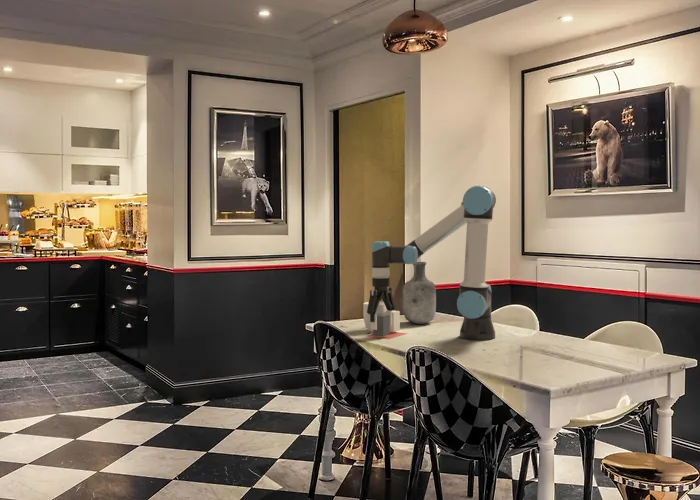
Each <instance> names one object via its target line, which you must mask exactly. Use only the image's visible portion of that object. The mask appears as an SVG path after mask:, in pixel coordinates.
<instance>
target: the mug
mask: <svg viewBox="0 0 700 500" xmlns="http://www.w3.org/2000/svg"><path fill="white" fill-rule="evenodd" d="M368 304H369V301H366V302H363V305H362V306H363V307H362V308H363V313H362V315H363V322H364V326H365V328H366V330H367V331H368V332H370V333H373V330H372V329H371V325H370V314H368V313H367V309H368ZM386 310H387V309H386V306H385V304H384V302H383V301H380V302H379V305H378V308H377V311H376V313H375V314H384V312H385V311H386ZM373 312H374V311H373Z"/></svg>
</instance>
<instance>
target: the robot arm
mask: <svg viewBox="0 0 700 500" xmlns="http://www.w3.org/2000/svg"><path fill="white" fill-rule="evenodd" d="M496 201H497V198H496V195H495V193H494V191H493V190H492V189H491V188H489V187H487V186H484V185H480V184H479V185H473V186H472V187H470V188H469V189H467V190H466V191H465V193H464V194H463V197H462V201H461V203H460V205H459V207H457V208H456V209H455V210H453V211H452V212H450V213H449V214H448V215H446V216H445V217H444V218H442V219H441V220H440V221H438V222H437V223H435V224H433V226H432V227H430V228H428V229H427V230H425V232H423V233H422V234H420V235H419V236H417V237H416V238H415V239H413V240H412V241H411V242H409V243H408V244H406V245H398V246H396V245H395V246H394V245H390V242H389V241H388V240H387V241H385V240H384V241H382V240H381V241H373V243H371V264H372V266H371V267H372V268H371V273H372V275H371V277H372V281H371V285H372V287H374V290H373V289H371V290H370V291H369V298H368V299H369V300H368V302H369V304H368V309H367V313H368V314H370V325H371V329H372V330H377V314H375V313H376V311H377V308H378V305H379V302H384V304H385V306H386V309H387V310H386V315H390V326H392V311H395V308H396V306H395V301H394V297H393V291H392V289H393V288H392V287H390V285H391V282H390V281H391V280H390V278H389V277H390V274H391V273H390V272H391V271H390V270H391V269H390V264H391V265H393V264H394V265H395V264H397V265H400V264H402V265H403V264H404V265H413V264H415V263H416V262H418V260H419V258H420V257H421V256H423V255H425V254H426V253H427V252H428V251H429V250H430V251H431V249H432V248H434V247H436V246H437V245H438V244H439V243H442V242H443V241H444V240H445V239H447V238H448V237H450V236H451V235H452V234H454V233H455V232H457V231H458V230H459V229H460V228H462V227H464V226H465V225H466V235H465V249H464V251H465V253H464V254H465V255H464V267H463V268H464V269H463V271H464V272H463V281H462V282H460V284H459V292H458V293H459V295H458V298H457V299H456V308H457V311H458V312H459V314H461V315H462V316H463V321H462V324H461V327H460V330H459V338H461V339H464V340H465V339H466V340H474V341H475V340H476V341H477V340H478V341H480V340H481V341H484V340H485V341H486V340H493V339H495V338H496V331H495V327H494V325H493V322H492V321H493V320H492V292H493V291H492V287H491V285H490V284H489V283H486V269H487V267H486V265H487V251H488V250H487V249H488V236H489V234H488V233H489V223H490V222H492V221H493V214H494V208H495V205H496V204H497V203H496ZM373 311H374V312H373Z"/></svg>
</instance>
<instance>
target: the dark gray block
mask: <svg viewBox="0 0 700 500" xmlns="http://www.w3.org/2000/svg"><path fill="white" fill-rule="evenodd" d="M372 335H375V336H387V335H390V315H385V314H377V330H373V332H372Z"/></svg>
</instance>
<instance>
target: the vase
mask: <svg viewBox="0 0 700 500" xmlns="http://www.w3.org/2000/svg"><path fill="white" fill-rule="evenodd" d="M426 265H427V262H426V261H417V262H416V263H415V264H412V266H413V276H412V278H411V279H410V280H408V281H406V282H405V283H404V285H403V289H402V307H403V315H404V318H405V320H407V322H410V323H412V324H415V325H423V324H428V323H430V322H431V321H433V320H434V319H435V317H436V313H437V312H436V310H437V291H436V290H437V289H436V284H435V283H434V282H432V281H431V280H429V279H428V278H427V276H426Z"/></svg>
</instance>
